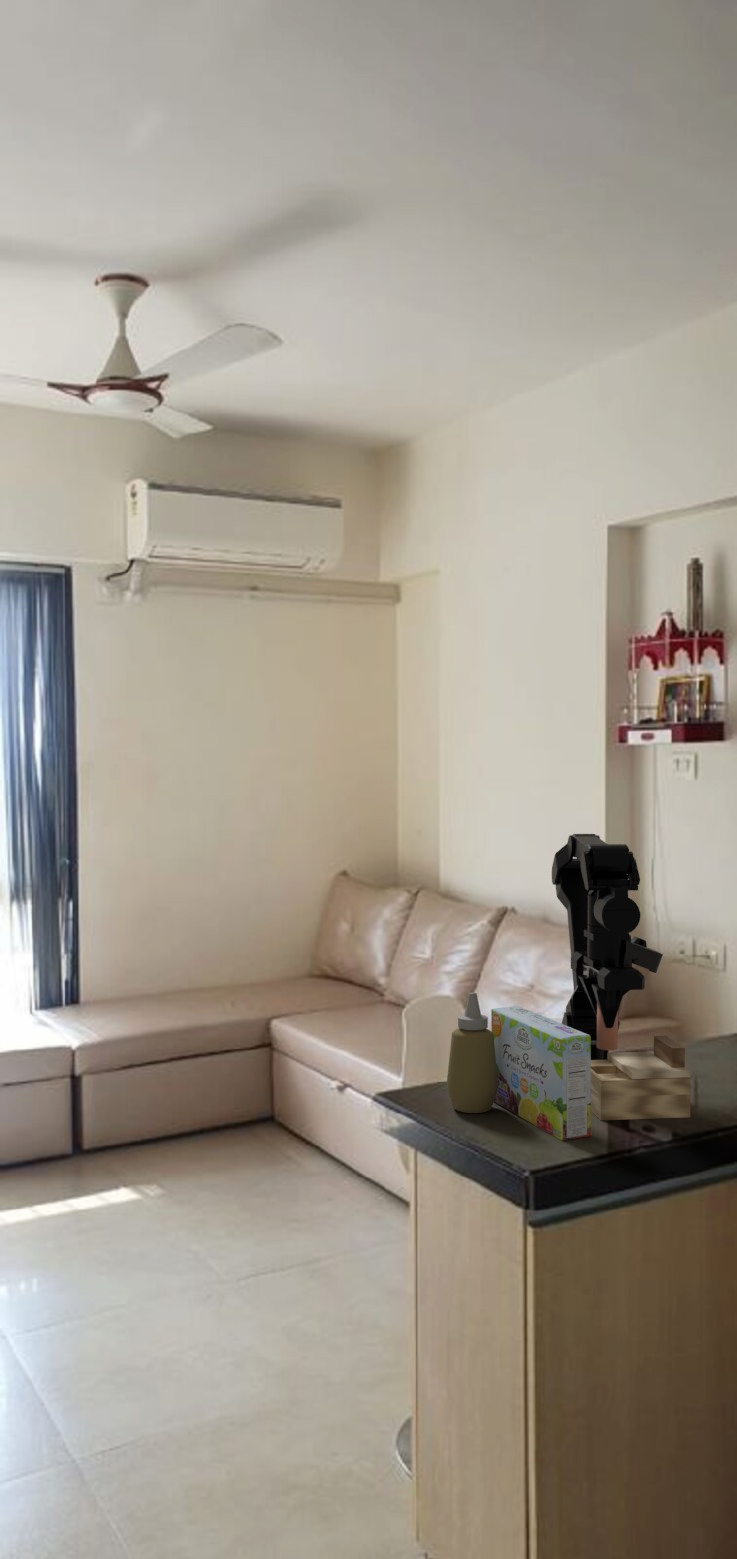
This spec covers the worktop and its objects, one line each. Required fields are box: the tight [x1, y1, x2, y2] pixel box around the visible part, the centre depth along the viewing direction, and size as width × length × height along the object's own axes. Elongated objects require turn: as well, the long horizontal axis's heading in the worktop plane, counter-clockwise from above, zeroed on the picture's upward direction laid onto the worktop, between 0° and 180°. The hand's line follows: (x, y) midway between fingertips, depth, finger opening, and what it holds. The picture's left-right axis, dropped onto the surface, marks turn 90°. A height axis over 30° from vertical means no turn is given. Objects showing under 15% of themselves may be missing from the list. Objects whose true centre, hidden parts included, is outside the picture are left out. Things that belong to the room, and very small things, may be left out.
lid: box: [607, 1035, 692, 1079], centre depth 196 cm, size 9×12×4 cm
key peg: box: [597, 1003, 619, 1051], centre depth 195 cm, size 3×3×8 cm
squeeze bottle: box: [446, 992, 498, 1114], centre depth 195 cm, size 8×8×18 cm
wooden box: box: [591, 1060, 692, 1121], centre depth 196 cm, size 14×12×6 cm
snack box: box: [490, 1005, 592, 1142], centre depth 190 cm, size 21×6×15 cm, turn 23°
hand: (605, 1025), depth 195 cm, fingers closed on key peg, 3 cm apart
